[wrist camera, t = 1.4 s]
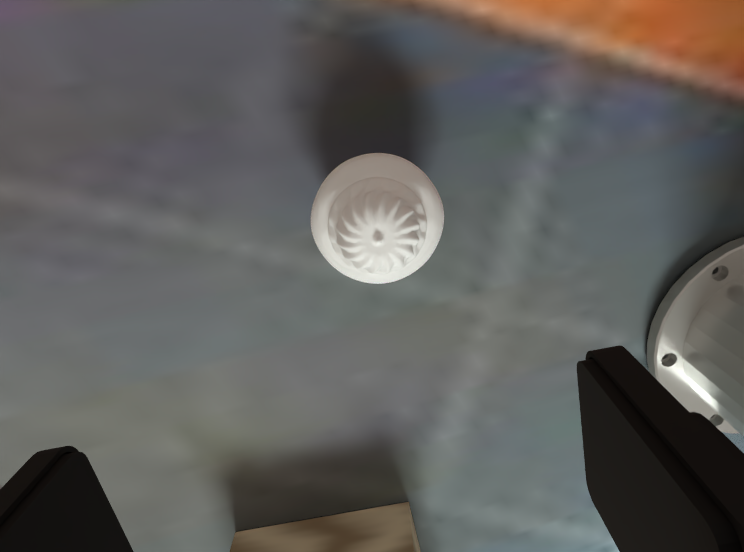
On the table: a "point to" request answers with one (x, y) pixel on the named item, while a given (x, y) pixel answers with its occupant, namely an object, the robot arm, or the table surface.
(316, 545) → the pegged square board
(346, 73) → the table surface
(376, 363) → the table surface
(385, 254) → the white rounded piece
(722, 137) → the table surface
